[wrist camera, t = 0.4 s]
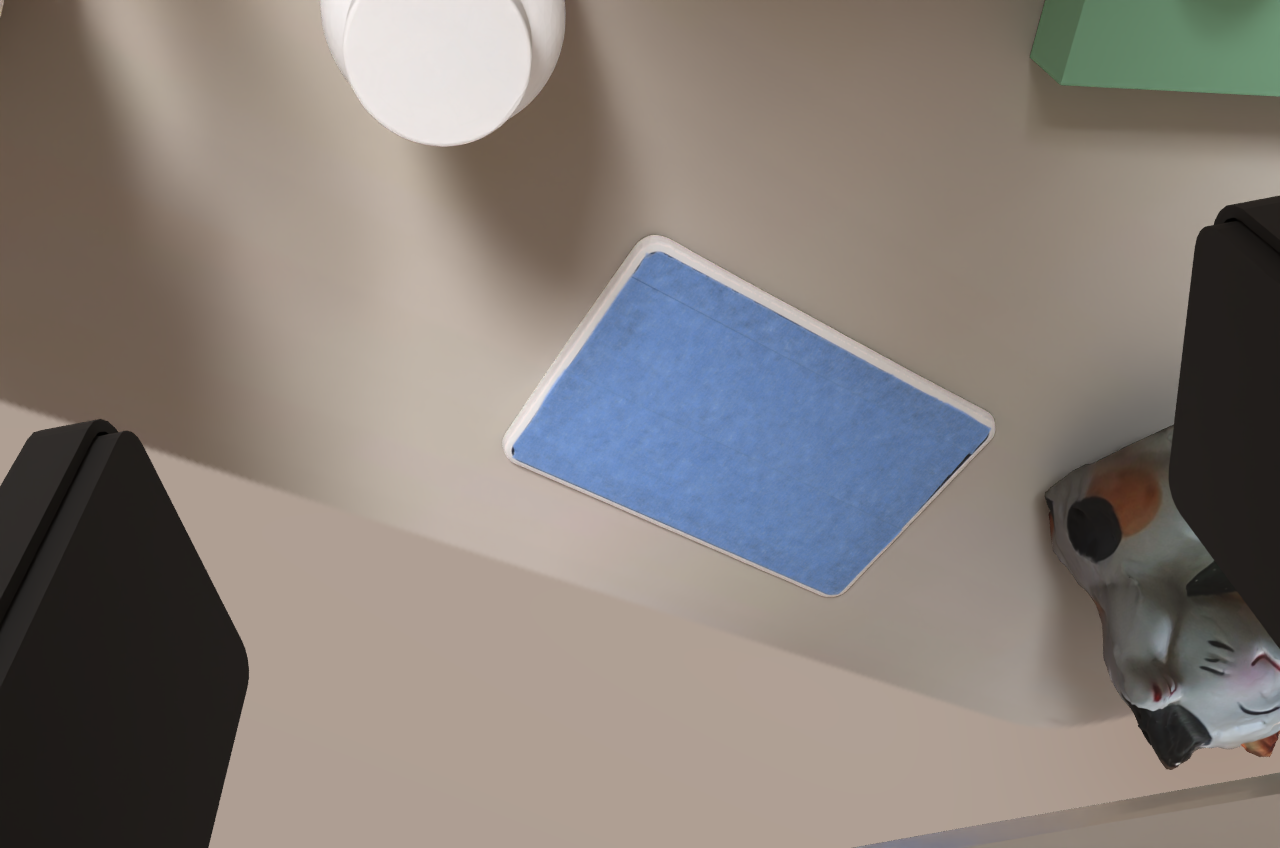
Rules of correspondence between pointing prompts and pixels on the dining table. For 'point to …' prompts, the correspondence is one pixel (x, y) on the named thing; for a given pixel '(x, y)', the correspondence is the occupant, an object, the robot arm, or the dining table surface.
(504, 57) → the supplement bottle
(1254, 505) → the robot arm
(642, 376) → the tablet computer
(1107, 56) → the green
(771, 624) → the dining table surface
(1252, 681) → the lucky cat figurine
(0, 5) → the coffee press
